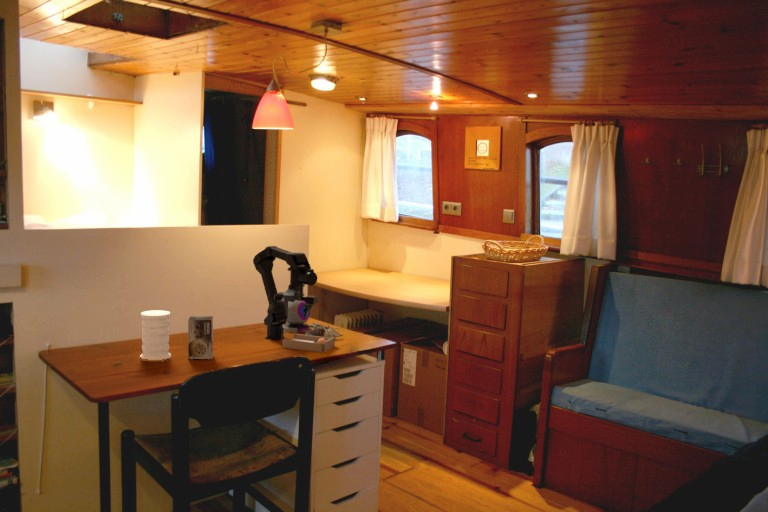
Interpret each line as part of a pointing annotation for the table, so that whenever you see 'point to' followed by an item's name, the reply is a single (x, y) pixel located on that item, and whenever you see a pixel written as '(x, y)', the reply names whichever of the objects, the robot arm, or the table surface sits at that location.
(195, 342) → the coffee box
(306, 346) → the shallow open tray
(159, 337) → the decorative container
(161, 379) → the table surface
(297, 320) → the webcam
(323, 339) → the ball
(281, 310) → the robot arm
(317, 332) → the figurine
